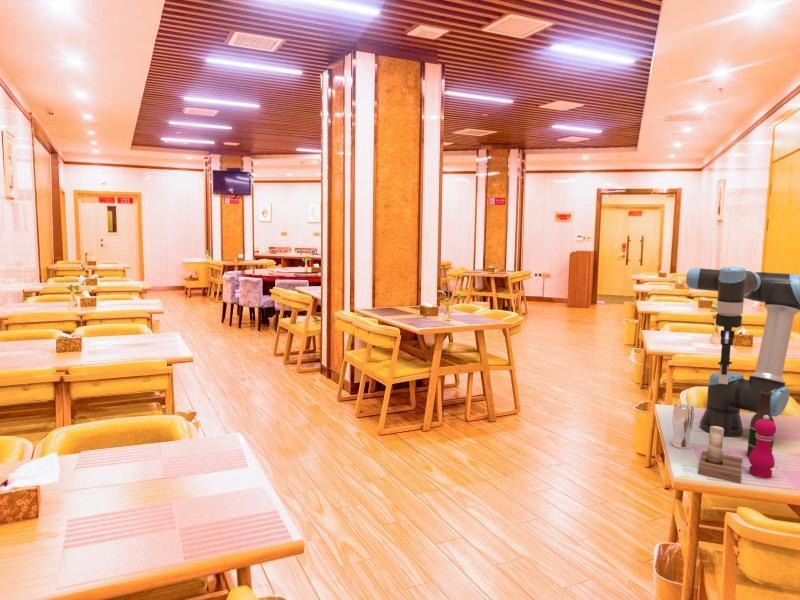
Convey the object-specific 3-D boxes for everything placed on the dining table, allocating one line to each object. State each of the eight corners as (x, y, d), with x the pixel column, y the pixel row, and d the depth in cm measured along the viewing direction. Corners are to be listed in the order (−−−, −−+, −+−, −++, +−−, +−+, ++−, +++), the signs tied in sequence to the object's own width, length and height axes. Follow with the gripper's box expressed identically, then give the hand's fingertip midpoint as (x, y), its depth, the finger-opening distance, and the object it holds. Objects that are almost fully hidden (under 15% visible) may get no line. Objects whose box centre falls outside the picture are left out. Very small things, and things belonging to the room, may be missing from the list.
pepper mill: (777, 479, 186) (783, 419, 184) (752, 477, 188) (758, 417, 185) (767, 470, 194) (774, 412, 191) (744, 468, 195) (750, 410, 192)
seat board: (702, 457, 204) (702, 450, 204) (741, 465, 198) (742, 457, 197) (697, 473, 190) (698, 466, 189) (740, 483, 183) (741, 475, 183)
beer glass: (665, 442, 217) (669, 403, 215) (682, 441, 218) (685, 403, 216) (678, 449, 210) (681, 409, 208) (695, 448, 211) (698, 408, 210)
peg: (706, 464, 197) (710, 425, 195) (720, 467, 195) (724, 427, 193) (705, 469, 194) (709, 428, 192) (719, 472, 192) (723, 431, 190)
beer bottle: (766, 454, 207) (773, 389, 204) (775, 463, 200) (783, 395, 197) (742, 452, 209) (749, 387, 206) (750, 461, 201) (758, 393, 198)
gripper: (717, 310, 199) (711, 377, 203) (715, 315, 188) (709, 386, 192) (742, 312, 196) (736, 380, 199) (742, 318, 185) (735, 389, 188)
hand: (723, 383), depth 195 cm, fingers closed
